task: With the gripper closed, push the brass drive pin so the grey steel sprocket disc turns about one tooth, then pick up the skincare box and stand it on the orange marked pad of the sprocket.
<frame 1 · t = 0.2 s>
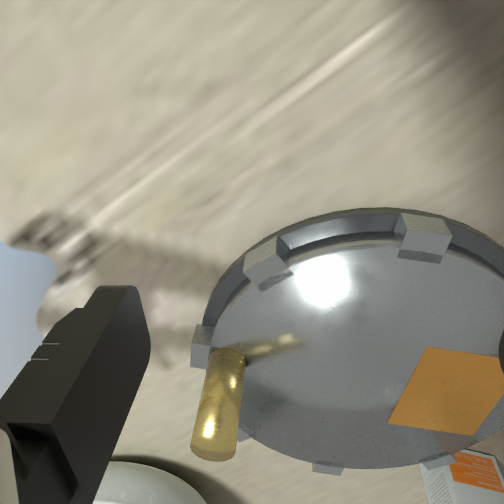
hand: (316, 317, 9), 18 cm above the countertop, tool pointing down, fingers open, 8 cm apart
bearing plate: (360, 348, 34), on the countertop
serving bowl: (140, 483, 51), on the countertop
sprocket: (370, 410, 30), point 6 cm above the countertop, hinge at 0.0°
skincare box: (454, 456, 42), on the countertop
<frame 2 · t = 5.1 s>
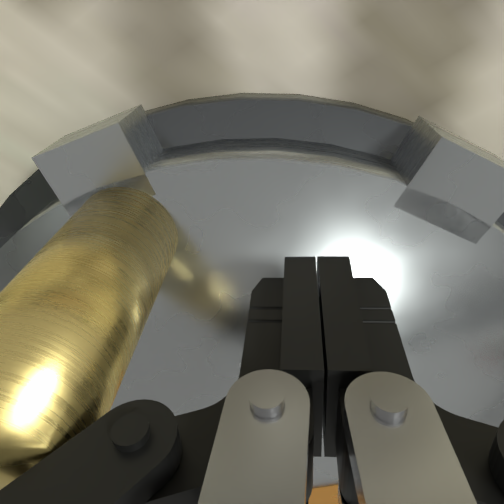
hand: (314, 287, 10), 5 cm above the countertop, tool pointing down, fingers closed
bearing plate: (262, 386, 20), on the countertop
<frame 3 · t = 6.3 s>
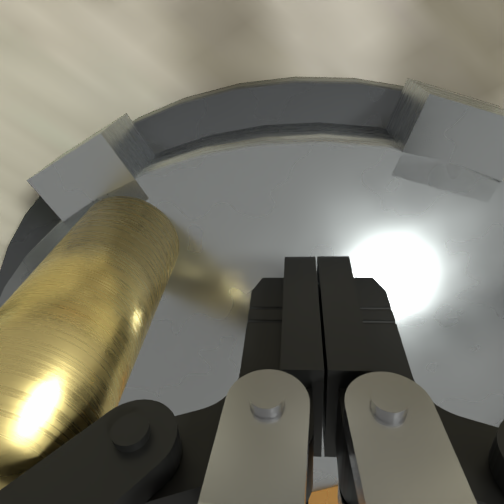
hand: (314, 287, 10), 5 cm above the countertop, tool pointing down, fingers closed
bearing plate: (296, 381, 19), on the countertop
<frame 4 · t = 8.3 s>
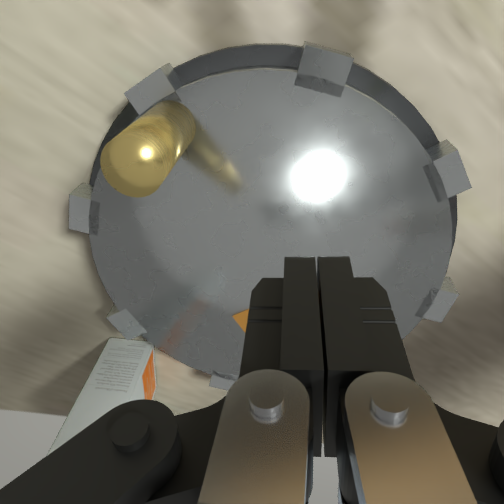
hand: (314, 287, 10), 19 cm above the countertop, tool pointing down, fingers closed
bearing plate: (266, 237, 31), on the countertop
sprocket: (261, 283, 26), point 6 cm above the countertop, hinge at 27.3°
skincare box: (135, 360, 40), on the countertop
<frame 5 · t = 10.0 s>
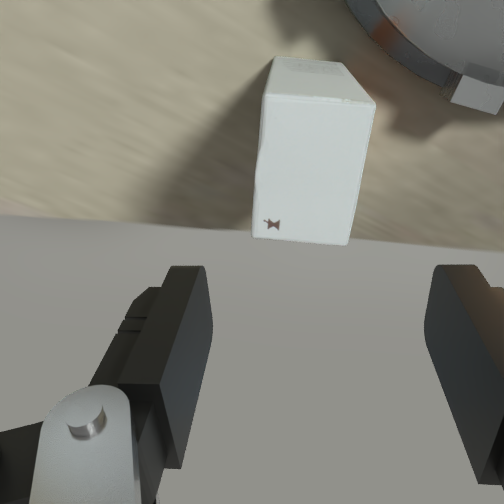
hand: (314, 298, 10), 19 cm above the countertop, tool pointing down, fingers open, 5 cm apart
skincare box: (302, 107, 27), on the countertop
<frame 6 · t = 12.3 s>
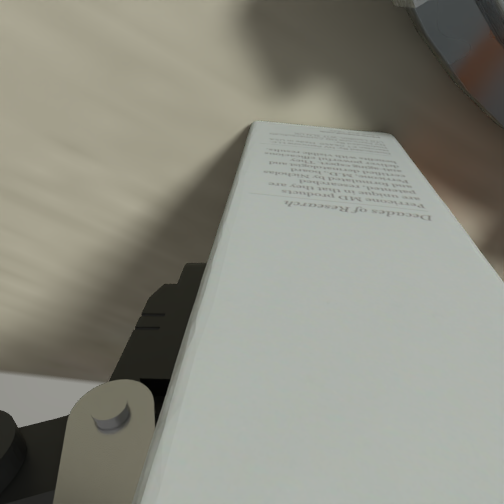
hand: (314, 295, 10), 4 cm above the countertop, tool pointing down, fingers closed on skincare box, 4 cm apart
skincare box: (309, 211, 14), on the countertop, touching gripper
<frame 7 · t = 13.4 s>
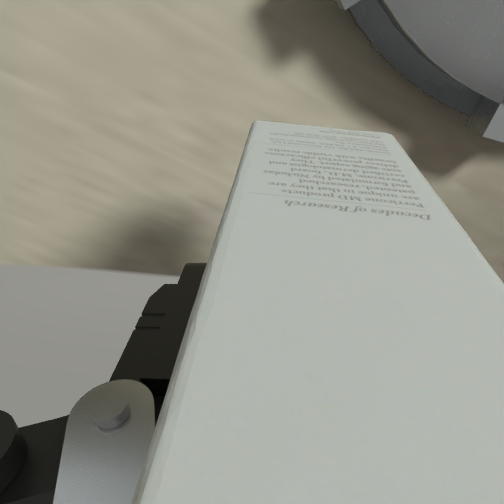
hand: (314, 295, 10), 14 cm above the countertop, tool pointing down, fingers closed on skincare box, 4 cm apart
skincare box: (309, 210, 14), point 9 cm above the countertop, touching gripper
when the fingers open (9 cm above the countertop, at t = 17.2 s): skincare box stays where it is, resting on sprocket.
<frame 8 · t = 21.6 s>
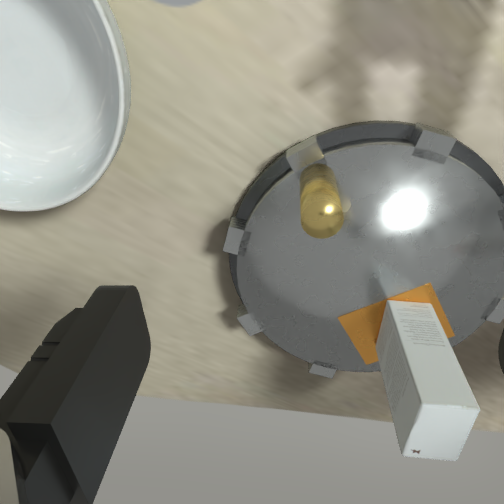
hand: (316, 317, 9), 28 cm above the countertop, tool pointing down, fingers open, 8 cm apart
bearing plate: (364, 257, 41), on the countertop
serving bowl: (27, 59, 34), on the countertop
sprocket: (373, 293, 36), point 6 cm above the countertop, hinge at 27.0°, touching skincare box
skincare box: (402, 323, 41), point 3 cm above the countertop, touching sprocket
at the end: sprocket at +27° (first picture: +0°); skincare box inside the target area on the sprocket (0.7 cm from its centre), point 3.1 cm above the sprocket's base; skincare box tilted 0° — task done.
